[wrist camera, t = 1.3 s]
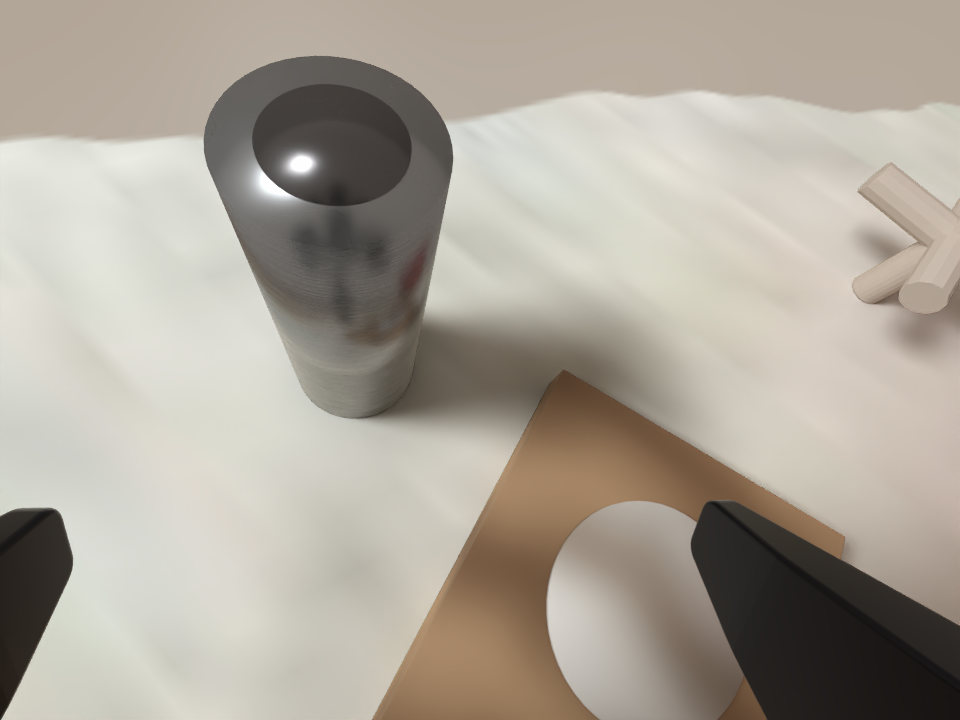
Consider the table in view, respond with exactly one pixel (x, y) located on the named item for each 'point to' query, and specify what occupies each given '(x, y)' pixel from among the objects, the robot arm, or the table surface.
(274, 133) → the steel hub
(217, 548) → the table surface
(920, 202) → the pipe connector
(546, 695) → the mounting plate
